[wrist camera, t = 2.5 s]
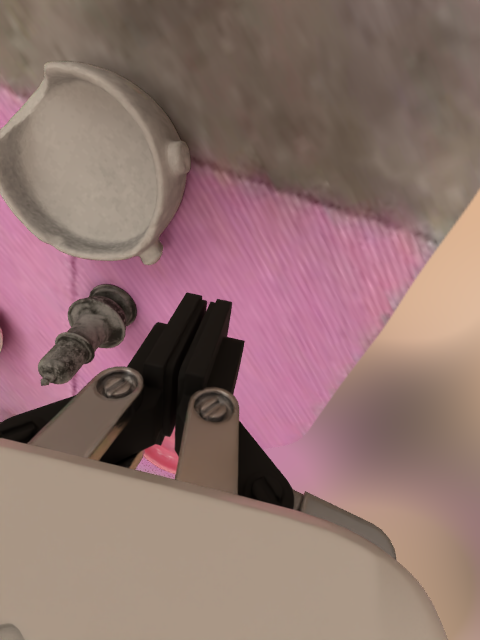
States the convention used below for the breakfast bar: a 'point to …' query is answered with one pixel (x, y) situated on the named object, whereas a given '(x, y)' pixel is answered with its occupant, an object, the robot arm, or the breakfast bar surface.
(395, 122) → the breakfast bar surface
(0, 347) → the flower in vase
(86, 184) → the dish
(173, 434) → the saucer
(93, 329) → the salt shaker
